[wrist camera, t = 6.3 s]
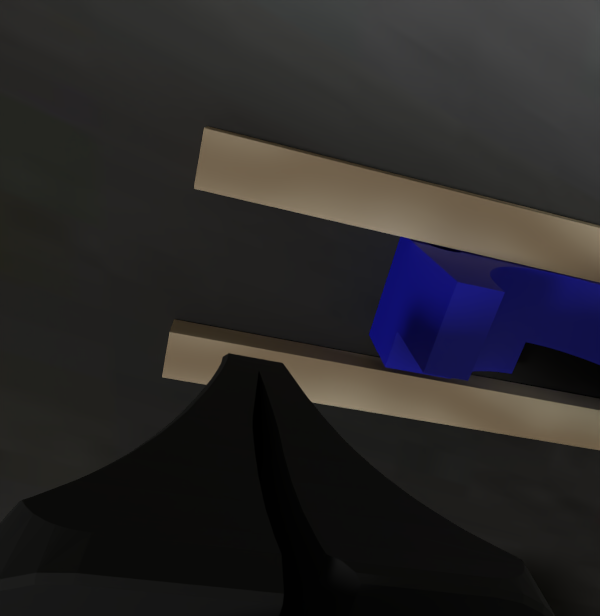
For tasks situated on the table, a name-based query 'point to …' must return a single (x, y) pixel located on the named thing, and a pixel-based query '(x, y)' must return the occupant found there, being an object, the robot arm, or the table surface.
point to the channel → (410, 224)
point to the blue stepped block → (478, 312)
